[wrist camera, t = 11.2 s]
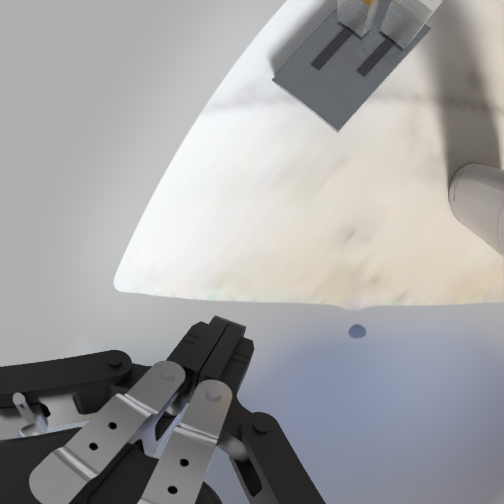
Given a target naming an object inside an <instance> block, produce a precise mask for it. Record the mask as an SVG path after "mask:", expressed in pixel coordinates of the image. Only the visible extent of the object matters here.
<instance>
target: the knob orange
mask: <svg viewBox="0 0 504 504" xmlns="http://www.w3.org/2000/svg"><path fill="white" fill-rule="evenodd" d="M379 1H380V0H337V20H338V21H339V22H341V23H342V24H344V25H345V26H347V27H348V28H350V29H351V30H352V31H354V32H355V33H357V34H358V35H360V36H361V37H363V36H364V35H365V34H366V33H367V32H368V31H369V30H370V29H371V27H372V24H373V21H374V18H375V15H376V11H377V8H378V5H379Z"/></svg>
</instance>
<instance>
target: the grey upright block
mask: <svg viewBox="0 0 504 504" xmlns="http://www.w3.org/2000/svg"><path fill="white" fill-rule="evenodd" d="M442 2H443V1H442V0H391V3H390V5H389V8H388V10H387V13H386V15H385V18H384V20H383V23H382V26H381V28H380V31H382V32H383V33H384V34H386V35H387V36H388V37H389V38H391V39H392V40H393V41H394V42H396V43H397V44H398V45H399V46H401V47H402V48H403V49H404V48H405V47H406V46H407V45H408V44H409V43H410V42H411V41H412V40H413V39H414V37H415V36H416V35H417V33H418V32H419V31H420V30H421V28H422V27H423V26H424V25H425V23H426V22H427V21H428V19H429V18H430V17H431V16H432V14H433V13H434V12H435V10H436V9H437V8H438V7H439V5H440V4H441V3H442Z"/></svg>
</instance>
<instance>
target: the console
mask: <svg viewBox="0 0 504 504" xmlns="http://www.w3.org/2000/svg"><path fill="white" fill-rule="evenodd" d="M390 3H391V0H380V1H379V5H378V8H377V11H376V15H375V18H374V21H373V24H372V27H371V29H370V30H369V31H368V32H367V33H366V34H365V35H364V36H363V37H361V36H360V35H358V34H357V33H355V32H354V31H352V30H351V29H350V28H348V27H347V26H345V25H344V24H342V23H341V22H339V21H338V20H337V10H336V11H334V12H333V13H332V14H331V15H330V16H329V18H328V19H327V20H326V21H325V22H324V23H323V24H322V25H321V26H320V27H319V28H318V29H317V30H316V31H315V32H314V33H313V34H312V35H311V36H310V37H309V38H308V39H307V41H306V42H305V43H304V44H303V45H302V46H301V47H300V48H299V49H298V50H297V51H296V53H295V54H294V55H293V56H292V57H291V58H290V59H289V60H288V62H287V63H286V64H285V65H284V66H283V67H282V68H281V70H280V71H279V72H278V73H277V74H276V75H275V77H274V78H273V79H272V81H273V82H274V83H275V84H276V85H277V86H279V87H280V88H281V89H283V90H284V91H285V92H287V93H288V94H290V95H291V96H292V97H294V98H295V99H296V100H298V101H299V102H300V103H302V104H303V105H304V106H305V107H307V108H308V109H309V110H311V111H312V112H313V113H314V114H316V115H317V116H318V117H319V118H320V119H322V120H323V121H324V122H325V123H327V124H328V125H329V126H330V127H331V128H332V129H334V130H335V131H336V132H337V133H338V132H339V130H340V129H341V128H342V127H343V126H344V125H345V124H346V123H347V121H348V120H349V119H350V118H351V117H352V116H353V115H354V114H355V112H356V111H357V110H358V109H359V108H360V107H361V106H362V105H363V103H364V102H365V101H366V100H367V99H368V98H369V97H370V96H371V94H372V93H373V92H374V91H375V90H376V89H377V88H378V87H379V86H380V84H381V83H382V82H383V81H384V80H385V79H386V78H387V77H388V76H389V74H390V73H391V72H392V71H393V70H394V69H395V68H396V67H397V66H398V65H399V63H400V62H401V61H402V60H403V59H404V58H405V57H406V56H407V55H408V54H409V52H410V51H411V50H412V49H413V48H414V47H415V46H416V45H417V44H418V43H419V42H420V40H421V39H422V38H423V37H424V36H425V35H426V34H427V33H428V31H429V30H430V29H431V28H430V27H429V26H427V25H426V24H425V25H424V26H423V27H422V28H421V30H420V31H419V32H418V33H417V35H416V36H415V37H414V39H413V40H412V41H411V42H410V43H409V44H408V45H407V46H406V47H405V48H404V49H403V48H402V47H401V46H399V45H398V44H397V43H396V42H394V41H393V40H392V39H391V38H389V37H388V36H387V35H386V34H384V33H383V32H382V31H380V28H381V26H382V23H383V20H384V18H385V15H386V13H387V10H388V8H389V5H390Z"/></svg>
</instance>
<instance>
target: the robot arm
mask: <svg viewBox="0 0 504 504" xmlns="http://www.w3.org/2000/svg"><path fill="white" fill-rule="evenodd" d="M449 202H450V207H451V210H452V212H453V214H454V216H455V217H456V218H457V220H458V221H459V222H461V223H462V224H463V225H464V226H466V227H467V228H468V229H470V230H471V231H472V232H473V233H475V234H476V235H477V236H479V237H480V238H481V239H482V240H484V241H485V242H486V243H487V244H489V245H490V246H491V247H492V248H493V249H495V250H496V251H497V252H498V253H499V254H501V255H502V256H503V257H504V170H503V169H499V168H494V167H491V166H486V165H482V164H477V163H471V164H467V165H465V166H463V167H461V168H460V169H459V170H458V171H457V172H456V174H455V175H454V177H453V179H452V182H451V184H450V189H449ZM245 330H246V326H243V325H240V324H238V323H235V322H232V321H231V322H230V321H229V320H227V319H223V318H221V317H219V316H214V317H213V319H212V320H211V322H210V323H209V324H206V323H204V322H199V323H197V324H195V325H193V326H192V327H191V328H190V330H189V331H188V332H187V334H186V335H185V336H184V337H183V339H182V340H181V342H180V343H179V344H178V345H177V347H176V348H175V349H174V351H173V352H172V353H171V354H170V356H169V357H168V358H167V360H166V361H160V362H157V363H156V364H154V365H153V366H143V365H138V364H133V363H132V361H131V358H130V357H129V356H128V355H127V354H126V353H125V352H122V351H119V350H110V351H104V352H99V353H93V354H88V355H82V356H76V357H70V358H64V359H57V360H50V361H44V362H37V363H29V364H22V365H13V366H4V367H0V504H222V502H221V500H220V498H219V496H218V495H217V494H216V492H215V491H214V490H213V489H212V488H211V487H210V486H209V485H207V484H206V483H205V482H204V479H205V476H206V473H207V470H208V467H209V464H210V461H211V459H212V456H213V453H214V450H215V447H216V446H218V447H219V448H221V449H222V450H223V451H224V452H226V453H227V454H228V455H229V458H230V461H231V463H232V465H233V468H234V470H235V472H236V474H237V477H238V479H239V481H240V483H241V485H242V487H243V490H244V492H245V494H246V496H247V498H248V500H249V502H250V504H326V503H325V502H324V501H323V499H322V497H321V495H320V494H319V492H318V490H317V489H316V487H315V486H314V484H313V482H312V481H311V479H310V477H309V476H308V474H307V472H306V471H305V469H304V468H303V466H302V464H301V462H300V461H299V459H298V457H297V455H296V454H295V452H294V450H293V449H292V447H291V446H290V443H289V441H288V440H287V438H286V436H285V434H284V433H283V431H282V429H281V427H280V426H279V424H278V422H277V421H276V419H275V418H273V417H272V416H271V415H269V414H266V413H262V412H254V413H251V412H250V411H248V410H247V409H245V408H244V407H243V406H242V405H241V404H240V403H239V401H238V399H237V393H238V391H239V388H240V386H241V384H242V381H243V379H244V377H245V374H246V372H247V369H248V366H249V364H250V360H251V357H252V355H253V351H254V345H253V341H252V340H249V339H247V338H244V333H245ZM186 403H189V405H188V407H187V409H186V411H185V413H184V416H183V418H182V420H181V422H180V424H179V425H177V426H176V427H175V428H174V430H173V432H172V434H171V436H170V439H169V441H168V443H167V445H166V447H165V449H164V451H163V453H162V455H161V457H160V459H157V458H154V456H155V454H156V451H157V448H158V446H159V445H160V443H161V442H162V441H163V439H164V438H165V436H166V435H167V434H168V432H169V431H170V429H171V428H172V427H173V425H174V424H175V423H176V421H177V420H178V419H179V417H180V416H181V413H182V410H183V408H184V407H185V405H186ZM88 420H90V421H89V422H88V423H87V424H86V425H85V426H84V427H77V428H72V429H67V430H62V431H57V432H52V433H46V431H47V429H48V427H54V426H61V425H66V424H72V423H78V422H83V421H88Z"/></svg>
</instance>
